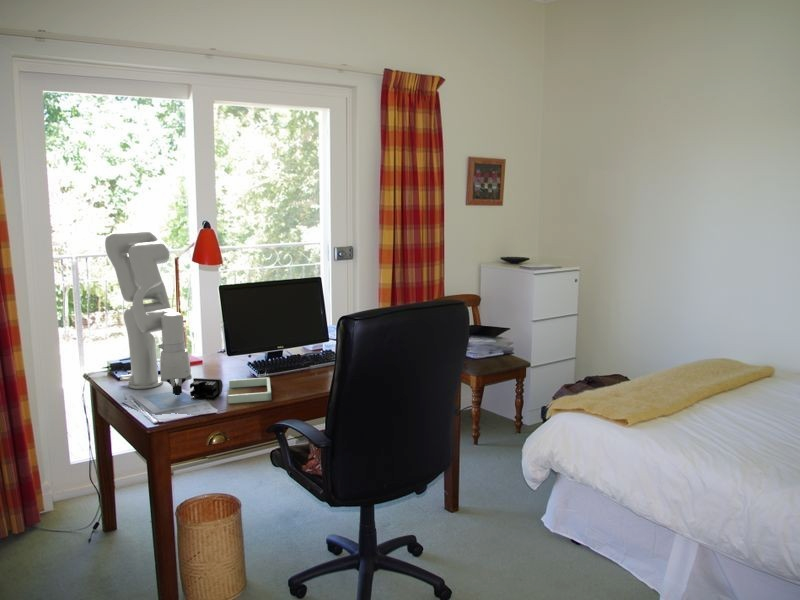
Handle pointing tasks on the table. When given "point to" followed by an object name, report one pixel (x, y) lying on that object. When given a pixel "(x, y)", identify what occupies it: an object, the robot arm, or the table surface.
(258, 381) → the holder
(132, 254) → the robot arm
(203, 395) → the end cap
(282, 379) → the table surface
